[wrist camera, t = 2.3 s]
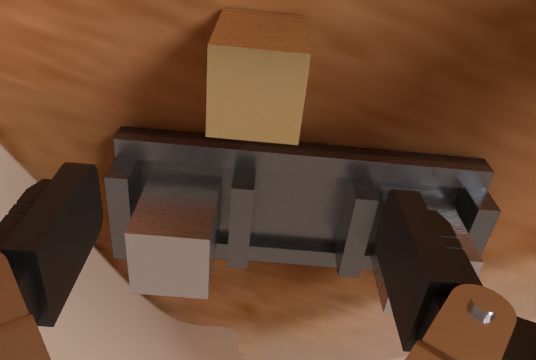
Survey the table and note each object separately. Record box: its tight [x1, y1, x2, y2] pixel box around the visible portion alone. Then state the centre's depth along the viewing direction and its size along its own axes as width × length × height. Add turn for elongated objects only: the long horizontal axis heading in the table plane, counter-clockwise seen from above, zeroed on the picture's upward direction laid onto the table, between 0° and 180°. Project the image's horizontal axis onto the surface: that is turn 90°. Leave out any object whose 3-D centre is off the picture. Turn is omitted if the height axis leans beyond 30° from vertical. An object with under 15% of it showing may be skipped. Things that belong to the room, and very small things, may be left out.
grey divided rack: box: [104, 126, 501, 313], centre depth 26 cm, size 8×21×7 cm, turn 85°
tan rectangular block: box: [206, 8, 311, 145], centre depth 22 cm, size 4×4×6 cm
